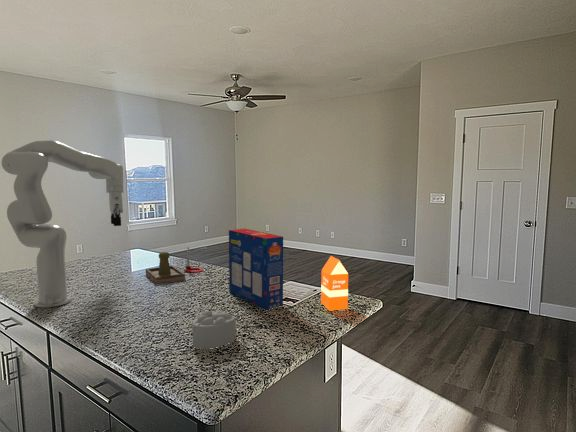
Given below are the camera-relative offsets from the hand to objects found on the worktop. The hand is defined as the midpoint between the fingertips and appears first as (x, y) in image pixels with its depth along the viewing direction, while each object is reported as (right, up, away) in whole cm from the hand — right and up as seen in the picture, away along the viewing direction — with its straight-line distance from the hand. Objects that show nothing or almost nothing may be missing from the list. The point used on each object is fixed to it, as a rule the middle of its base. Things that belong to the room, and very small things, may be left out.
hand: (116, 224), depth 180 cm
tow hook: (+33, -26, +20) cm, 47 cm away
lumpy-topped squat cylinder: (+61, -35, -66) cm, 96 cm away
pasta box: (+70, -31, -26) cm, 81 cm away
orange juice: (+102, -32, -36) cm, 113 cm away
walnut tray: (+22, -27, +6) cm, 35 cm away
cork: (+22, -25, +6) cm, 34 cm away
